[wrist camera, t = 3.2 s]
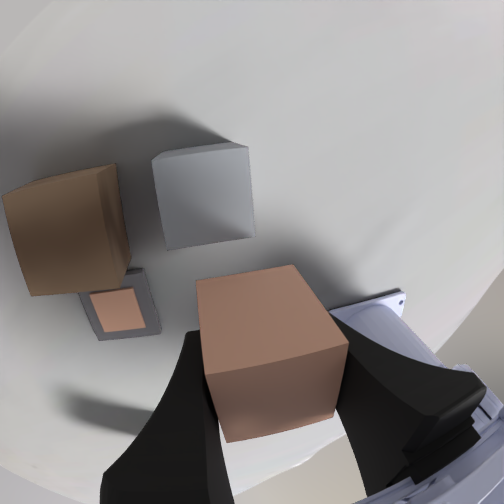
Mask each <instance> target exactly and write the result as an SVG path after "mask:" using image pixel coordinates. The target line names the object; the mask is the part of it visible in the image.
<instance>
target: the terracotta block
mask: <svg viewBox="0 0 504 504" xmlns="http://www.w3.org/2000/svg"><path fill="white" fill-rule="evenodd" d="M196 290H197V302H198V314H199V325H200V335H201V345H202V354H203V363H204V371H205V377H206V380H207V384H208V387H209V390H210V394H211V397H212V400H213V403H214V406H215V410H216V413H217V416H218V419H219V422H220V425H221V428H222V431H223V434H224V437H225V440H226V443H230V442H236V441H242V440H247V439H252V438H257V437H262V436H267V435H271V434H275V433H280V432H284V431H288V430H291V429H295V428H299V427H303V426H306V425H310V424H313V423H316V422H320V421H323V420H326V419H329V418H332V417H333V416H334V412H335V408H336V404H337V399H338V395H339V391H340V386H341V381H342V377H343V372H344V367H345V362H346V356H347V351H348V345H349V342H348V340H347V339H346V337H345V336H344V335H343V333H342V332H341V330H340V329H339V327H338V326H337V325H336V323H335V322H334V320H333V319H332V318H331V316H330V315H329V313H328V312H327V311H326V309H325V308H324V306H323V305H322V304H321V302H320V301H319V299H318V298H317V297H316V295H315V294H314V292H313V291H312V290H311V288H310V287H309V286H308V284H307V283H306V281H305V280H304V279H303V277H302V276H301V275H300V273H299V272H298V270H297V269H296V268H295V266H294V265H293V264H292V265H286V266H281V267H275V268H269V269H263V270H257V271H251V272H245V273H239V274H233V275H227V276H221V277H215V278H209V279H203V280H196Z"/></svg>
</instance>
